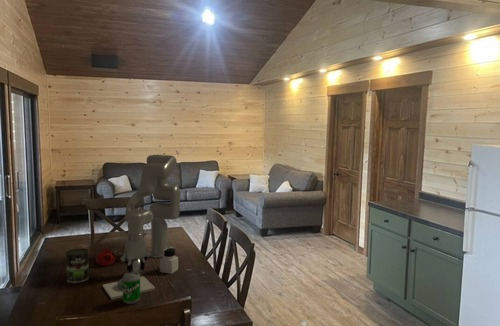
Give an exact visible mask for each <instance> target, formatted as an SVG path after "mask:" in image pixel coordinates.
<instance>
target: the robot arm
mask: <svg viewBox="0 0 500 326" xmlns="http://www.w3.org/2000/svg"><path fill="white" fill-rule="evenodd" d="M177 163H178V162H177V159H176V157H175V156H174V155H170V154H169V155H167V154H150V155H148V156H147V157H146V164H145V165H144V166H143V168H142V171H141V177H140V180H139V181H140V182H139V186H138V189H137V190H136V191H135V192H134V193H133V194H132V195H131V196H130V198H129V199H128V202H127V205H126V209H125V213H124V218H125V220H126V222H127V239H126V241H125V246H124V254H122V256H121V257H120V260H121V261H122V263H124V264H126V271H127V273H131V260H133V259H138V258H141V271H144V269H145V267H146V266H145V263H146V261H147V260H148V259H149V257H151V258H154V259H161V258H163V250H164V249H166V248H173V249H175V250H176V246H171V245H170V246H169V245H168V237H169V236H168V235H169V234H168V232H169V231H168V228H169V227H168V226H169V225H168V222H167V221H166V220H177V219H178V218H179V216H180V209H181V205H180V204H181V191H180V187H179V186H178V185H176V184H169V177H170V176H171V174H172V173H173V172H174V170H175V169H176V167H177ZM151 195H152V198H153V199H154V200H156V201H157V202H154V203H151V205H150V206H149V209H144V208H135V206H136V204H137V203H138V202H139V201H141V200H142V199H144V198H147V197H149V196H151ZM158 201H159V202H158ZM161 201H166V202H161ZM167 201H169V202H167ZM149 224H150V226H151V227H150V228H151V229H150V230H151V232H150V235H151V238H150V240H151V242H150V245H151V246H150V248H151V251H148V250H147V244H146V240H145V236H147V233H146V232H144V226H145V225H149ZM125 258H126V259H125Z"/></svg>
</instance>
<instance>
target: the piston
mask: <svg viewBox="0 0 500 326" xmlns="http://www.w3.org/2000/svg"><path fill="white" fill-rule="evenodd" d="M130 265H131V272H135V273H138V275H140V277H142V270H141V258H138V259H133V260H131V263H130Z"/></svg>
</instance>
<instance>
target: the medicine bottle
mask: <svg viewBox="0 0 500 326" xmlns="http://www.w3.org/2000/svg"><path fill="white" fill-rule="evenodd" d="M178 270H179V256H176V248H175V249H173V248H166V249H164V250H163V257H162V258H159V272H160V273H163V274H164V273H166V274H170V275H172V274H173V273H175V272H176V271H178Z"/></svg>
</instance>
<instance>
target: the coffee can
mask: <svg viewBox="0 0 500 326" xmlns="http://www.w3.org/2000/svg"><path fill="white" fill-rule="evenodd" d="M65 256H66V258H65V259H66V282H67V283H70V284H79V283H83V282H86V281H88V280H89V279H90V276H89V275H90V273H89V272H90V270H89V266H90V265H89V249H86V248H74V249H70V250H68V251H66V252H65Z"/></svg>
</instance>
